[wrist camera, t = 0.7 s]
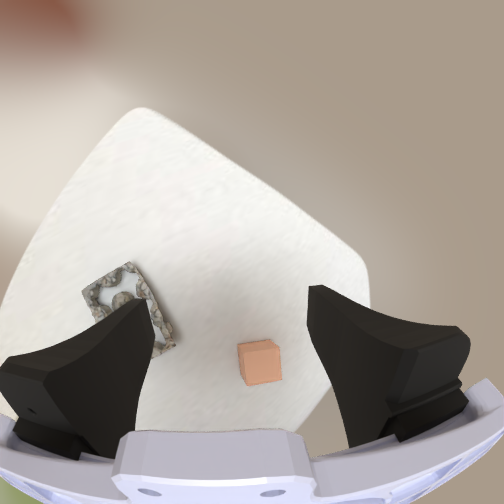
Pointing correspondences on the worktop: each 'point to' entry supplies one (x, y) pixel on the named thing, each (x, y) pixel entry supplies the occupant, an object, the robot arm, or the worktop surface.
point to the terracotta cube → (259, 362)
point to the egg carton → (121, 298)
